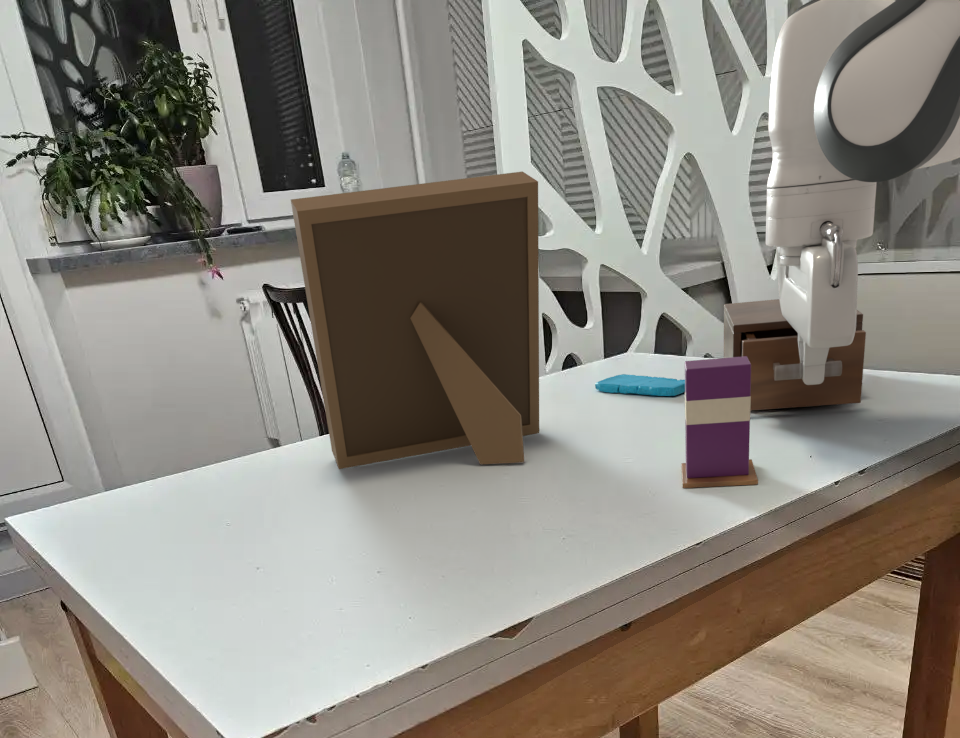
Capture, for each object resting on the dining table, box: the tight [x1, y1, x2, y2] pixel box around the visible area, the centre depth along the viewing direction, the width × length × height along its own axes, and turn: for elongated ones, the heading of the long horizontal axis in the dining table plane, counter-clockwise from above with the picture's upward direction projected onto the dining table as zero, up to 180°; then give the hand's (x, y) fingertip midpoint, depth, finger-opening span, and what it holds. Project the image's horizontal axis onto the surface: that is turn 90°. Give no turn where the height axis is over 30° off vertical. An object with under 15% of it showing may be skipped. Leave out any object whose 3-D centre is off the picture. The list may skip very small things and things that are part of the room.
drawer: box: [741, 328, 867, 411], centre depth 95 cm, size 20×11×7 cm, turn 170°
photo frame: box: [290, 171, 540, 470], centre depth 87 cm, size 15×22×25 cm
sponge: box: [594, 373, 685, 397], centre depth 110 cm, size 2×12×6 cm
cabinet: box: [723, 298, 864, 358], centre depth 101 cm, size 17×13×9 cm
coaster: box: [680, 458, 759, 489], centre depth 77 cm, size 6×6×1 cm
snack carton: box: [684, 356, 751, 478], centre depth 75 cm, size 5×4×9 cm
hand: (811, 381), depth 85 cm, fingers closed
